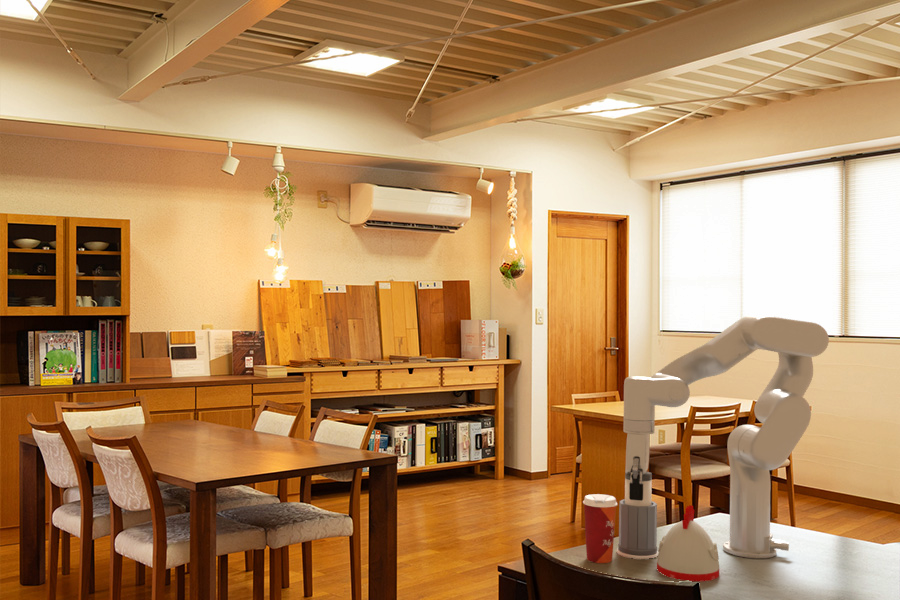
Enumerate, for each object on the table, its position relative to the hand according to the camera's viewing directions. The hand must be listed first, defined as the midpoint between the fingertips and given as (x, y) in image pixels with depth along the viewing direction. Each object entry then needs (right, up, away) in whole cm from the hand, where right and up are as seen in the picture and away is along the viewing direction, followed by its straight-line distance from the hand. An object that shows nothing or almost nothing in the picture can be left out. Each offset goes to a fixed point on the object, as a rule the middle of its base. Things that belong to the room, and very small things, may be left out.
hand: (638, 495), depth 206 cm
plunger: (0, -12, 0) cm, 12 cm away
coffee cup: (-11, -14, -6) cm, 19 cm away
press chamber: (0, -14, 0) cm, 14 cm away
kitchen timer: (+8, -15, -14) cm, 22 cm away
